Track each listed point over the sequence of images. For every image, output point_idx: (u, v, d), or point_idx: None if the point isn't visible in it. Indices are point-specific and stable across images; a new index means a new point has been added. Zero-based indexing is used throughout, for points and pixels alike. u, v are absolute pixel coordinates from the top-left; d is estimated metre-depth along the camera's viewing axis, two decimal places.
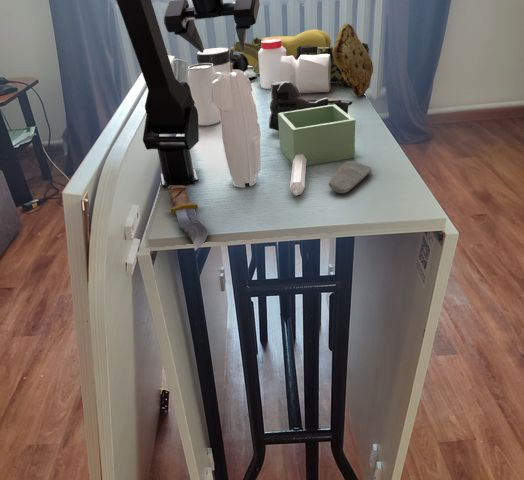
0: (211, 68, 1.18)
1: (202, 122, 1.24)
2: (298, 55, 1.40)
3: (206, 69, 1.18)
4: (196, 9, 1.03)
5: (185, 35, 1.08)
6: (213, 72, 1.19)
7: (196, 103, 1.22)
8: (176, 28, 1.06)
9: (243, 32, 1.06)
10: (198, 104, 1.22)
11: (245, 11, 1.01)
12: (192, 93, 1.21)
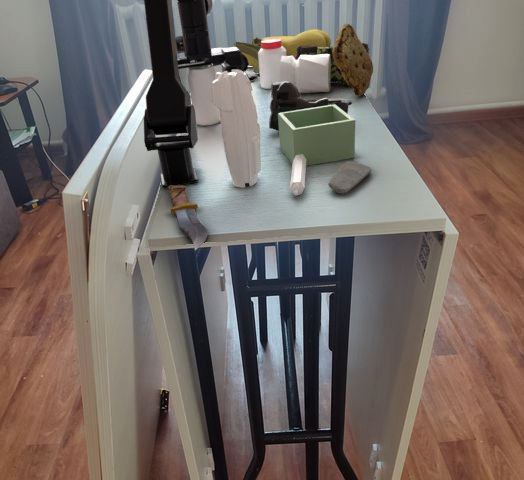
0: (211, 68, 1.18)
1: (202, 122, 1.24)
2: (298, 55, 1.40)
3: (206, 69, 1.18)
4: (191, 52, 1.15)
5: None
6: (213, 72, 1.19)
7: (196, 103, 1.22)
8: None
9: None
10: (198, 104, 1.22)
11: (235, 52, 1.17)
12: (192, 93, 1.21)
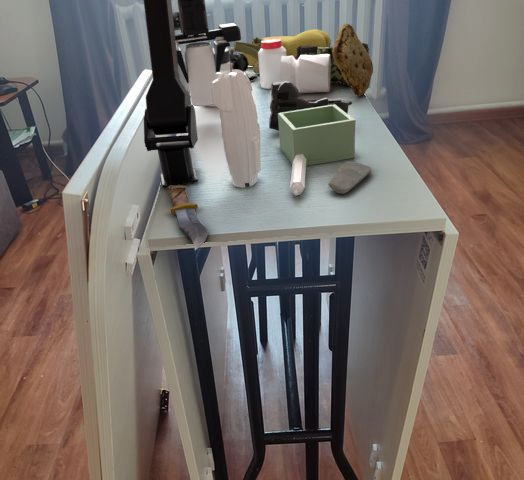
0: (209, 46, 1.16)
1: (199, 102, 1.21)
2: (298, 55, 1.40)
3: (203, 47, 1.15)
4: (187, 27, 1.12)
5: (178, 55, 1.15)
6: (211, 50, 1.16)
7: (193, 82, 1.19)
8: None
9: (223, 51, 1.16)
10: (195, 84, 1.19)
11: (232, 27, 1.14)
12: (189, 72, 1.18)
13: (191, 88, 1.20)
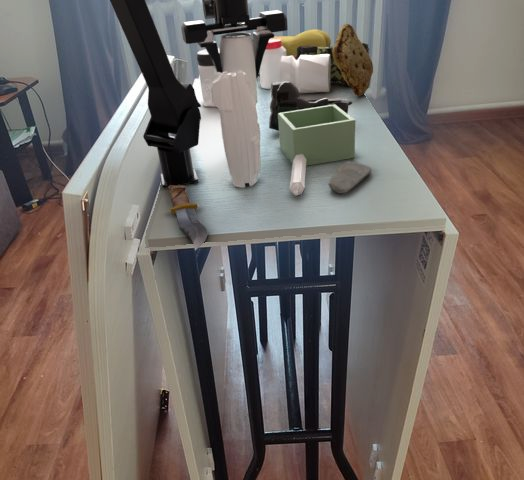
0: (249, 37, 0.97)
1: None
2: (298, 55, 1.41)
3: (243, 38, 0.96)
4: (224, 14, 0.94)
5: (213, 48, 0.96)
6: (251, 42, 0.98)
7: None
8: (199, 37, 0.94)
9: (266, 44, 0.98)
10: None
11: (278, 15, 0.95)
12: (224, 68, 0.99)
13: None
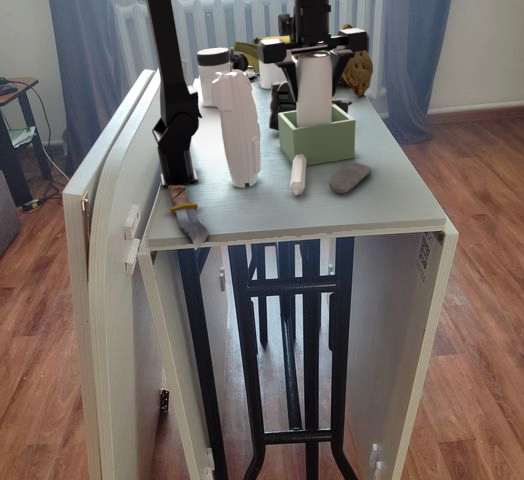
0: (328, 57, 0.92)
1: (310, 125, 0.97)
2: None
3: (323, 58, 0.91)
4: (305, 33, 0.89)
5: (292, 68, 0.91)
6: (330, 62, 0.93)
7: (304, 101, 0.95)
8: (278, 57, 0.89)
9: (346, 63, 0.93)
10: (307, 103, 0.95)
11: (361, 34, 0.90)
12: (300, 88, 0.94)
13: (301, 108, 0.97)
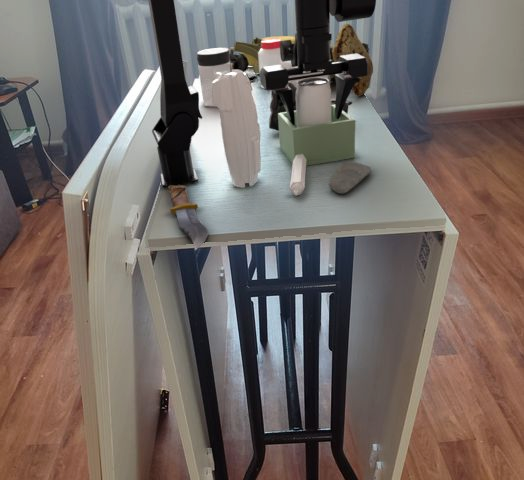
0: (327, 84, 0.95)
1: None
2: None
3: (322, 85, 0.94)
4: (307, 60, 0.91)
5: (288, 94, 0.94)
6: (329, 89, 0.95)
7: None
8: (280, 84, 0.92)
9: (351, 88, 0.95)
10: None
11: (361, 60, 0.93)
12: (301, 115, 0.97)
13: None
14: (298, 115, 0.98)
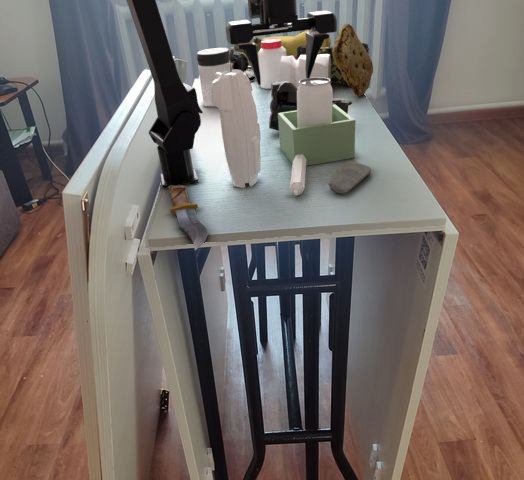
0: (329, 84, 0.95)
1: None
2: (298, 55, 1.41)
3: (323, 85, 0.94)
4: (272, 14, 0.89)
5: (252, 50, 0.92)
6: (330, 89, 0.95)
7: (305, 126, 0.98)
8: (245, 38, 0.90)
9: (320, 44, 0.93)
10: None
11: (328, 15, 0.91)
12: (302, 114, 0.97)
13: None
14: (299, 114, 0.98)
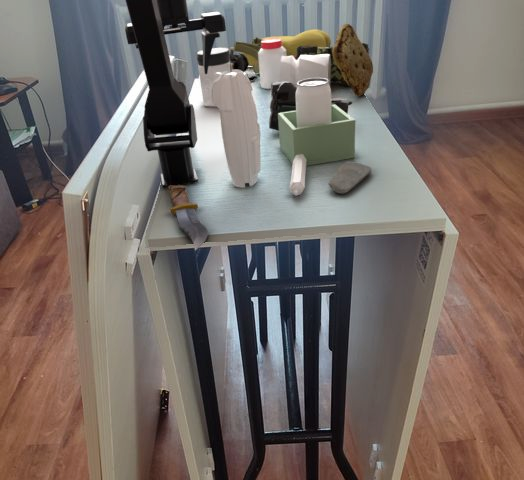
0: (327, 84, 0.95)
1: None
2: (298, 55, 1.41)
3: (322, 86, 0.94)
4: (164, 16, 0.98)
5: None
6: (329, 89, 0.95)
7: None
8: None
9: (212, 43, 1.02)
10: None
11: (216, 16, 1.00)
12: (301, 115, 0.97)
13: None
14: (298, 115, 0.98)
